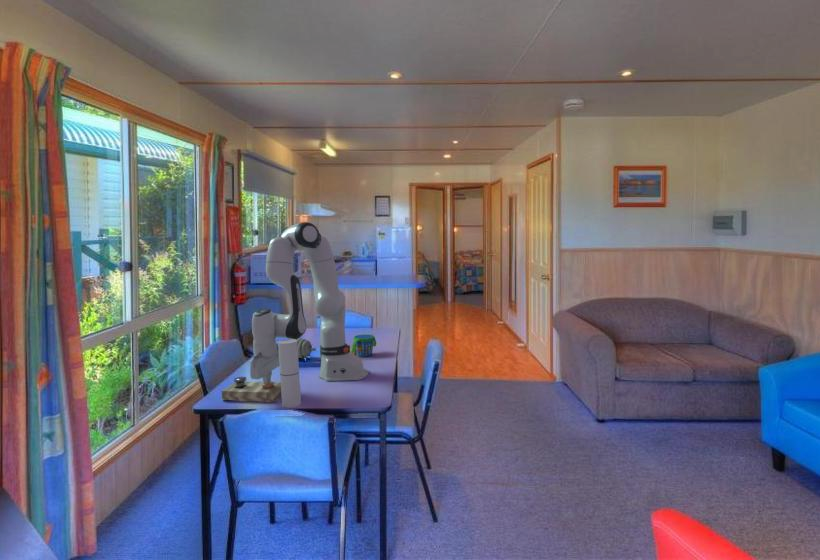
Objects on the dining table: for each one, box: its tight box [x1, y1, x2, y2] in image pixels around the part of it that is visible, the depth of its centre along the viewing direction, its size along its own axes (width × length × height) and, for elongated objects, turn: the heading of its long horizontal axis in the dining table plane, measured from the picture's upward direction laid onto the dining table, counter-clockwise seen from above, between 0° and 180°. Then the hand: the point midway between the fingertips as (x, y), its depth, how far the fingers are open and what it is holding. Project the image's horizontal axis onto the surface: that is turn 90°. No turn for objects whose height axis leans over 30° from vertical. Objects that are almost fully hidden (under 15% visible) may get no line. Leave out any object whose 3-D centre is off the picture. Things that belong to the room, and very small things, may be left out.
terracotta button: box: [262, 381, 275, 389], centre depth 206 cm, size 5×5×4 cm
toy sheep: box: [296, 337, 317, 359], centre depth 259 cm, size 11×17×11 cm, turn 76°
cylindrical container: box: [277, 338, 302, 408], centre depth 196 cm, size 7×7×25 cm
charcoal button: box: [233, 376, 247, 388], centre depth 208 cm, size 5×5×4 cm
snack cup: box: [351, 333, 377, 358], centre depth 263 cm, size 16×10×10 cm
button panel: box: [221, 381, 282, 403], centre depth 207 cm, size 22×12×4 cm, turn 79°
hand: (267, 383), depth 206 cm, fingers closed
